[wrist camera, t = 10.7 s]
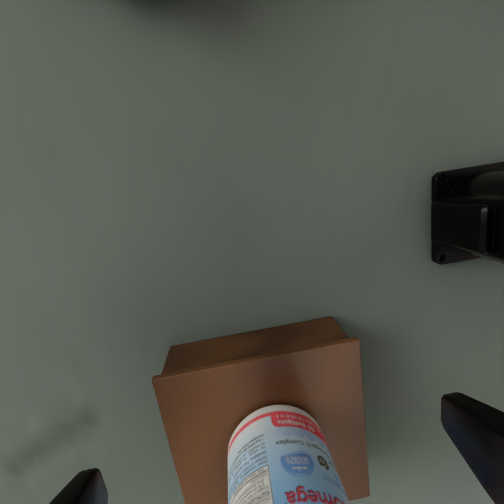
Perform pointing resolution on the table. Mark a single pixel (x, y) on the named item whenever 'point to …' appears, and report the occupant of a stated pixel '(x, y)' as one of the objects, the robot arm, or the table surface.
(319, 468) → the pill bottle
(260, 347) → the walnut platform
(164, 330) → the table surface
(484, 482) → the robot arm
